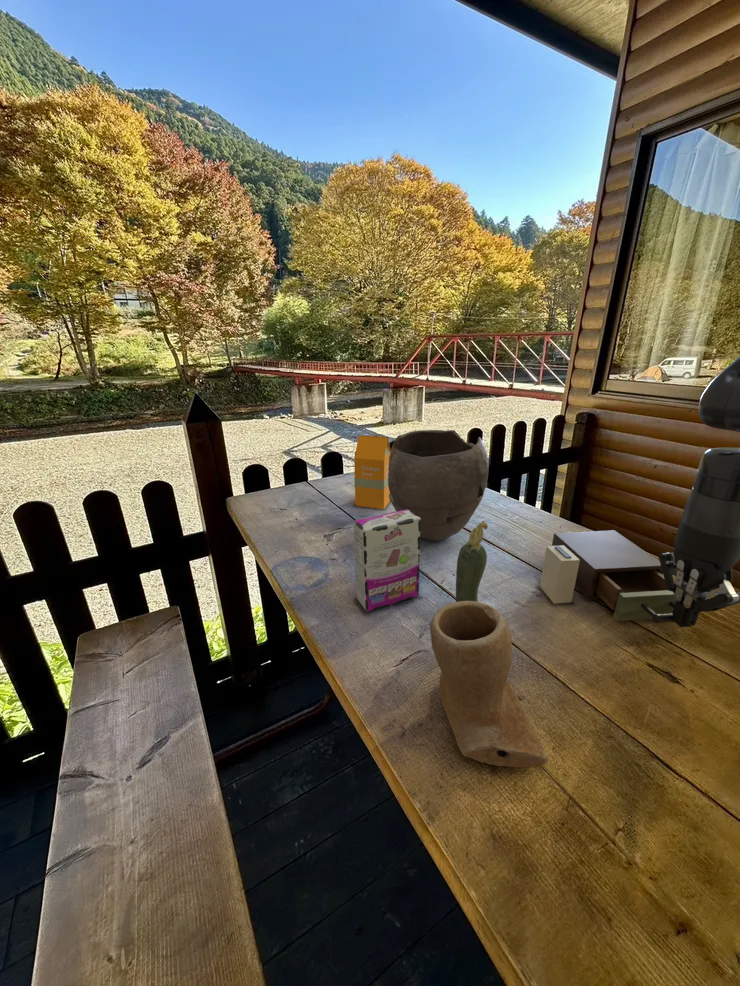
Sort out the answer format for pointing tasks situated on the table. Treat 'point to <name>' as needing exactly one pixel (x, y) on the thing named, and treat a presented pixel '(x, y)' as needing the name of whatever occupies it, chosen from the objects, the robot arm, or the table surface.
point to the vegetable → (471, 566)
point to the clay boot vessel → (482, 686)
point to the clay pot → (437, 479)
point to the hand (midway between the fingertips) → (681, 623)
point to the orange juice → (372, 472)
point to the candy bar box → (387, 558)
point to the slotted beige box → (559, 574)
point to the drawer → (636, 595)
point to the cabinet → (603, 556)
